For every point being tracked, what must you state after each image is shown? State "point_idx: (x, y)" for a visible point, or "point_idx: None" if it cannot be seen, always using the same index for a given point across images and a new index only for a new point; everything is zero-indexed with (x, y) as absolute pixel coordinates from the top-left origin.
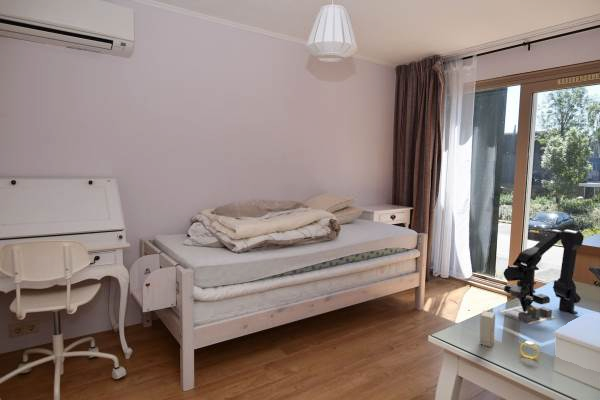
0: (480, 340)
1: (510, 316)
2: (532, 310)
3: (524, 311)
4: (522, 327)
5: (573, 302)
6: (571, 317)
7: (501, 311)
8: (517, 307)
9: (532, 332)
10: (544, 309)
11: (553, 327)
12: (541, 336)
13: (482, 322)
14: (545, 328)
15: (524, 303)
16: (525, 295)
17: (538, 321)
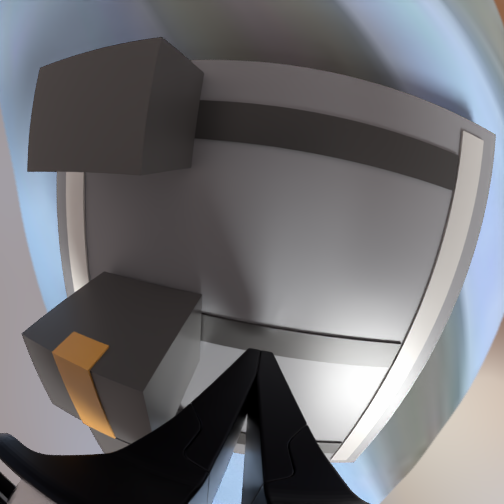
0: None
1: (325, 75)
2: (83, 330)
3: (254, 349)
4: (126, 20)
5: None
6: None
7: (474, 157)
8: (379, 412)
9: (55, 35)
10: (118, 441)
11: (35, 268)
12: (17, 53)
13: None
14: (35, 196)
15: (217, 444)
16: None
17: (68, 237)
